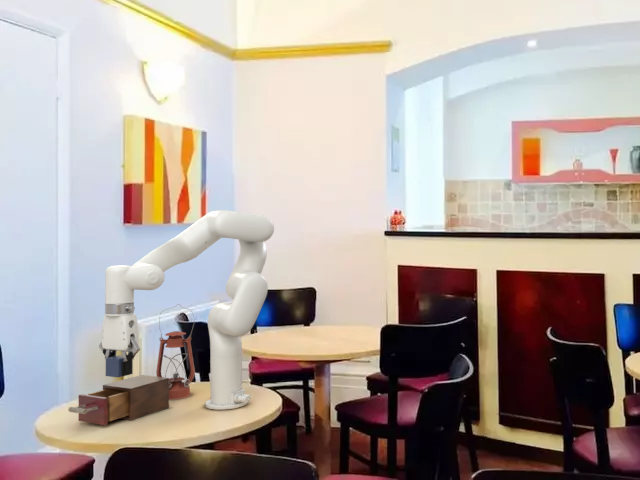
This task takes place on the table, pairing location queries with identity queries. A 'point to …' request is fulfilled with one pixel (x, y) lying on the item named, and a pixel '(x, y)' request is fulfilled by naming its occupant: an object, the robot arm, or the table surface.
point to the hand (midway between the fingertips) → (119, 373)
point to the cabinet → (143, 394)
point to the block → (115, 366)
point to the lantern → (175, 384)
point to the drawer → (102, 406)
